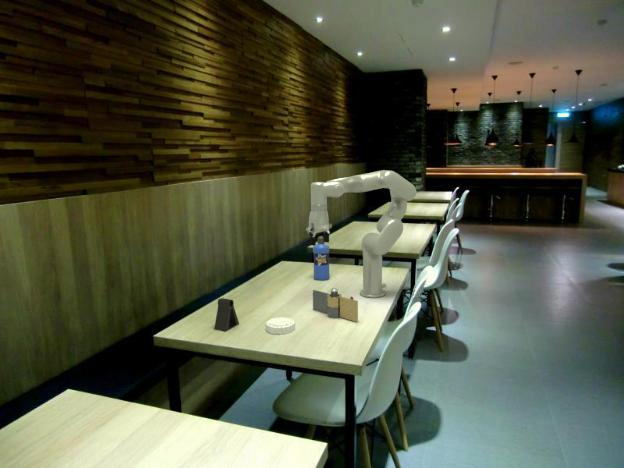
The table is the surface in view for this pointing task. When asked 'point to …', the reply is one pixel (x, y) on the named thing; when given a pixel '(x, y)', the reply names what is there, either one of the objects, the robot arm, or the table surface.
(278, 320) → the mooncake
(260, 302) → the table surface
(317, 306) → the hinge base
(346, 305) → the hinge leaf
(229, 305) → the phone stand
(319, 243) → the water bottle
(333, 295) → the hinge pin
